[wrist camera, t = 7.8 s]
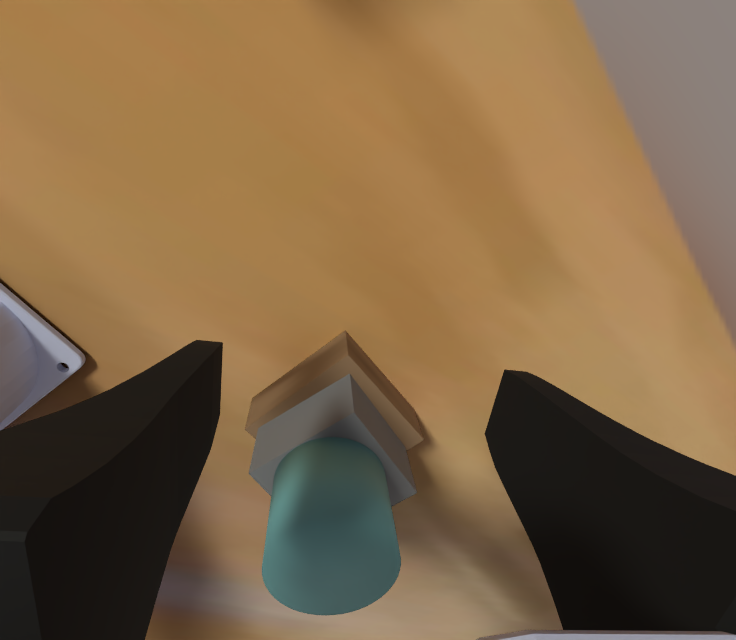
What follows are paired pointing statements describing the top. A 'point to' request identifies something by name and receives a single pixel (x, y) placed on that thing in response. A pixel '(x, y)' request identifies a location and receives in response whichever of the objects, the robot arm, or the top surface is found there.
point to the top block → (333, 435)
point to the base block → (328, 369)
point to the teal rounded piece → (330, 529)
